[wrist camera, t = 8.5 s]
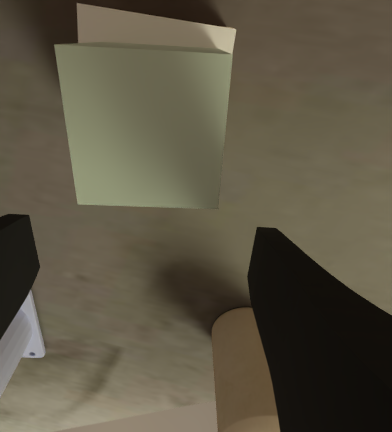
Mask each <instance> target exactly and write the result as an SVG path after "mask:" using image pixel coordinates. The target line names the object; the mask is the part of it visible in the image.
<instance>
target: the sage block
mask: <svg viewBox="0 0 392 432" xmlns="http://www.w3.org/2000/svg"><path fill="white" fill-rule="evenodd" d="M54 47H55V54H56V60H57V67H58V74H59V81H60V88H61V94H62V101H63V108H64V115H65V122H66V128H67V135H68V142H69V149H70V155H71V162H72V169H73V176H74V183H75V189H76V196H77V203H78V204H85V205H113V206H141V207H170V208H198V209H218V204H219V193H220V183H221V172H222V162H223V151H224V141H225V130H226V120H227V109H228V99H229V88H230V78H231V67H232V57H233V54H230V53H228V52H225V51H223V50H220V49H218V48H203V47H185V46H167V45H150V44H132V43H114V42H89V43H72V44H54Z"/></svg>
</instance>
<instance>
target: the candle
mask: <svg viewBox="0 0 392 432" xmlns="http://www.w3.org/2000/svg"><path fill="white" fill-rule="evenodd" d="M212 351H213V366H214V381H215V396H216V410H217V424H218V432H280V427H279V421H278V414H277V408H276V403H275V397H274V391H273V385H272V380H271V376H270V371H269V367H268V364H267V360H266V356H265V353H264V349H263V345H262V342H261V338H260V335H259V331H258V328H257V324H256V320H255V316H254V313H253V309H252V308H250V307H242V308H236V309H232V310H230V311H227V312H225V313H224V314H222V315H221V316H219V317H218V318H217V320H216V321H215V322H214V324H213V327H212Z"/></svg>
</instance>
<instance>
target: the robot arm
mask: <svg viewBox="0 0 392 432" xmlns="http://www.w3.org/2000/svg"><path fill="white" fill-rule="evenodd" d="M39 268H40V265H39V260H38V255H37V250H36V246H35V241H34V236H33V232H32V227H31V222H30V217H29V215H20V214H7V215H4V216H2V217H0V397H1V395H2V393H3V392H4V390H5V388H6V386H7V384H8V382H9V380H10V378H11V376H12V374H13V372H14V371H15V369H16V367H17V365H18V363H19V361H20V359H21V357H31V358H41V357H43V356H44V355H45V352H46V351H45V347H44V342H43V338H42V334H41V329H40V325H39V321H38V317H37V312H36V308H35V304H34V299H33V295H32V291H31V287H32V285H33V283H34V281H35V278H36V276H37V273H38V271H39ZM247 277H248V285H249V293H250V300H251V305H252V309H253V313H254V316H255V320H256V324H257V328H258V331H259V335H260V338H261V342H262V345H263V349H264V353H265V356H266V360H267V364H268V367H269V371H270V376H271V380H272V385H273V391H274V397H275V403H276V408H277V414H278V421H279V427H280V432H392V315H390V314H388V313H387V312H385V311H383V310H382V309H380V308H378V307H377V306H375V305H374V304H372V303H371V302H369V301H368V300H366V299H364V298H363V297H361V296H360V295H358V294H357V293H355V292H354V291H353V290H351V289H350V288H348V287H347V286H345V285H344V284H343V283H341V282H340V281H339V280H338V279H336V278H335V277H334V276H332V275H331V274H330V273H328V272H327V271H326V270H325V269H323V268H322V267H321V266H320V265H318V264H317V263H316V262H315V261H314V260H312V259H311V258H310V257H309V256H308V255H307V254H305V253H304V252H303V251H302V250H301V249H300V248H299V247H297V246H296V245H295V244H294V243H293V242H292V241H291V240H289V239H288V238H287V237H286V236H285V235H284V234H283V233H281V232H280V231H279V230H278V229H276V228H266V227H257V230H256V235H255V240H254V245H253V250H252V255H251V260H250V266H249V271H248V276H247Z"/></svg>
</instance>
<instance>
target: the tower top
mask: <svg viewBox="0 0 392 432" xmlns="http://www.w3.org/2000/svg"><path fill="white" fill-rule="evenodd" d="M77 23H78V43H89V42H114V43H132V44H150V45H167V46H185V47H203V48H218V49H220V50H223V51H225V52H228V53H230V54H232V52H233V46H234V40H235V34H236V29H232V28H226V27H220V26H214V25H208V24H202V23H196V22H189V21H183V20H177V19H171V18H165V17H159V16H153V15H147V14H141V13H135V12H129V11H123V10H116V9H110V8H104V7H98V6H92V5H86V4H80V3H77Z"/></svg>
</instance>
